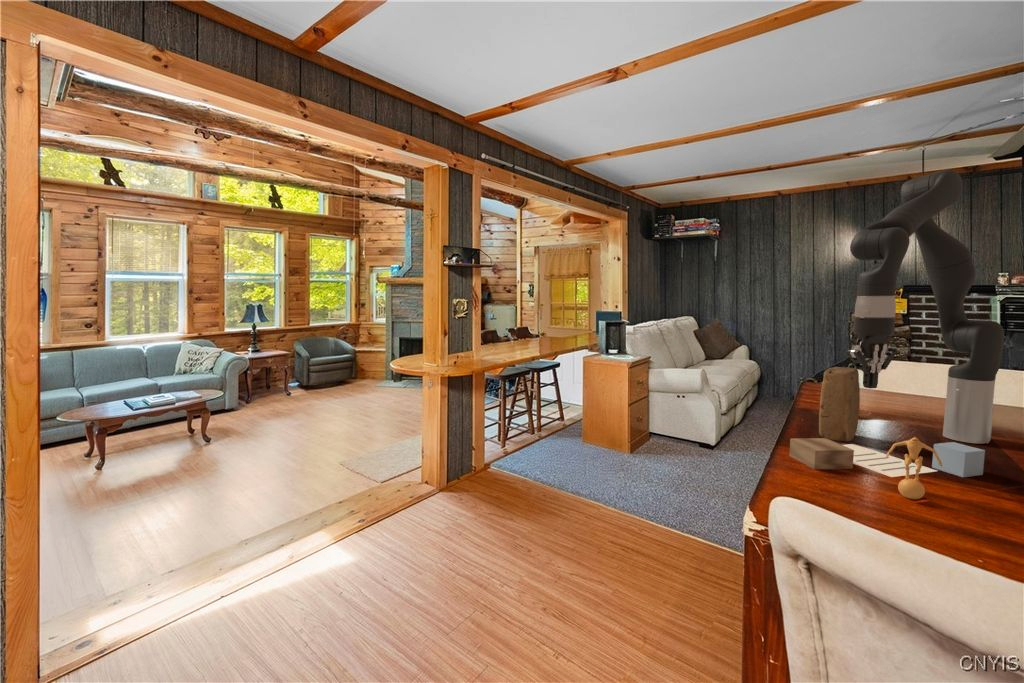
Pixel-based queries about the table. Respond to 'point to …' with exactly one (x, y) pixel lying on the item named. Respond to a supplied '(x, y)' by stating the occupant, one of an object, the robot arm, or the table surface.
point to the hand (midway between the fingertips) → (869, 387)
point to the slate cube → (959, 459)
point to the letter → (883, 462)
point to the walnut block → (821, 453)
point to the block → (839, 404)
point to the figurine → (913, 486)
